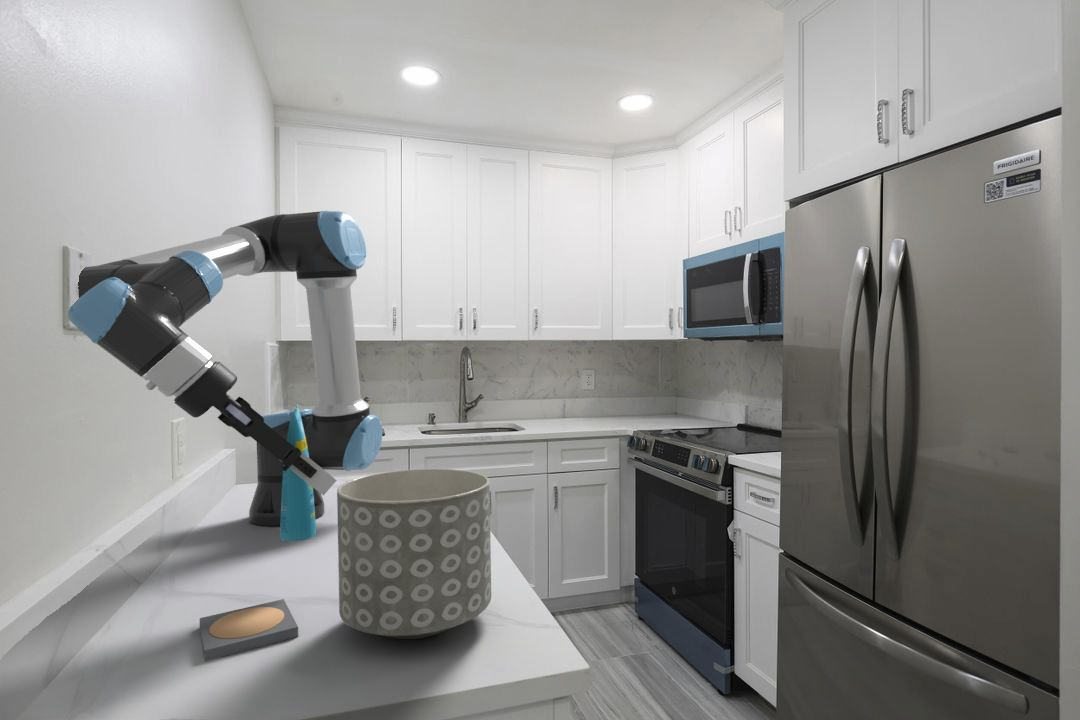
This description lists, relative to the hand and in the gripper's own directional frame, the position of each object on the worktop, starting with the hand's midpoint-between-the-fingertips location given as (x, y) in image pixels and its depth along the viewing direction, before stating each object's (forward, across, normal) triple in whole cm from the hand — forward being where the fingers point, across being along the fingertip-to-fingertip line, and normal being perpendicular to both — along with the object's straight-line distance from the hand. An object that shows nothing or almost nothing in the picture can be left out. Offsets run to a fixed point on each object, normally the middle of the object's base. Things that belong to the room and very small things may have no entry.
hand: (323, 482), depth 86 cm
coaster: (+3, +9, -19) cm, 21 cm away
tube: (+3, 0, -8) cm, 8 cm away
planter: (+16, +19, -6) cm, 26 cm away
